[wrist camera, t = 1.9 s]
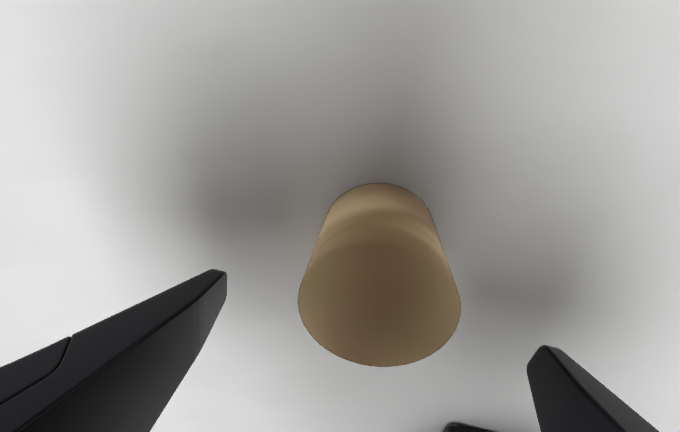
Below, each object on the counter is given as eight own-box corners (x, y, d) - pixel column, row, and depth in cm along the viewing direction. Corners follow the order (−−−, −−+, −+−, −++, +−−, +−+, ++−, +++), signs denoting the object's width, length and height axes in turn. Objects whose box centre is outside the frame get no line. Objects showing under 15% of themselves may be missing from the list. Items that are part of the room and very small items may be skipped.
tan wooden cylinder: (450, 196, 12) (488, 264, 8) (415, 288, 14) (430, 380, 10) (333, 171, 12) (308, 224, 8) (316, 266, 14) (289, 347, 10)
